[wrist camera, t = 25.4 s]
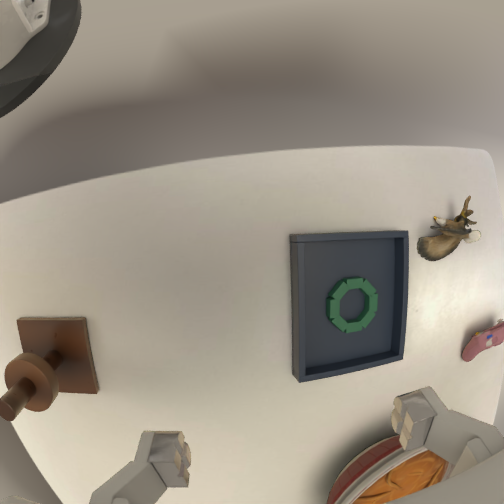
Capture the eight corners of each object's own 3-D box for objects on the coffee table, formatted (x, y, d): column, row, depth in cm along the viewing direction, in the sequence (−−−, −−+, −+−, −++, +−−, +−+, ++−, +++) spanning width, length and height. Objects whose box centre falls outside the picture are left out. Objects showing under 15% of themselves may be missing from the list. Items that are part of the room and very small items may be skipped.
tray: (289, 234, 35) (296, 234, 33) (396, 230, 38) (408, 230, 36) (292, 374, 37) (298, 383, 34) (392, 353, 39) (403, 359, 37)
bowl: (374, 514, 43) (398, 544, 33) (280, 506, 38) (298, 550, 28) (446, 424, 43) (481, 448, 34) (366, 397, 39) (406, 432, 29)
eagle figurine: (445, 185, 38) (416, 217, 35) (489, 203, 33) (466, 241, 30) (441, 227, 43) (413, 261, 40) (479, 246, 38) (455, 284, 35)
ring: (325, 279, 36) (330, 281, 35) (373, 274, 37) (378, 276, 36) (325, 333, 36) (330, 336, 35) (371, 325, 38) (376, 327, 36)
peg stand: (20, 317, 30) (-46, 356, 16) (85, 317, 32) (32, 364, 18) (36, 386, 30) (-13, 445, 17) (99, 389, 32) (65, 460, 18)
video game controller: (488, 322, 45) (514, 312, 39) (493, 345, 44) (520, 337, 37) (455, 338, 44) (483, 329, 37) (460, 364, 42) (489, 358, 36)
